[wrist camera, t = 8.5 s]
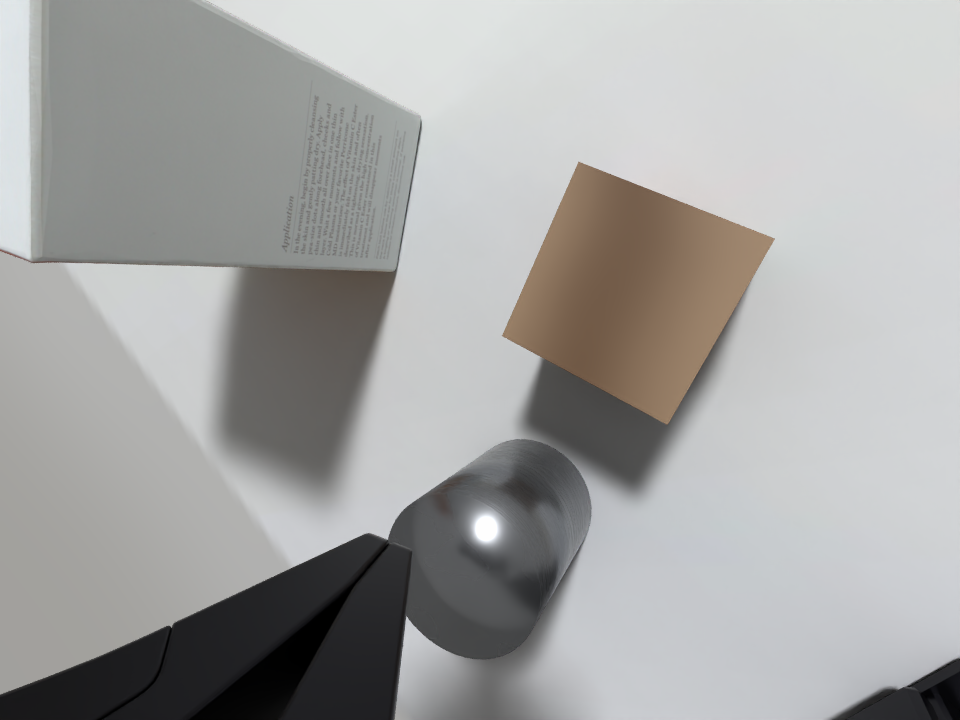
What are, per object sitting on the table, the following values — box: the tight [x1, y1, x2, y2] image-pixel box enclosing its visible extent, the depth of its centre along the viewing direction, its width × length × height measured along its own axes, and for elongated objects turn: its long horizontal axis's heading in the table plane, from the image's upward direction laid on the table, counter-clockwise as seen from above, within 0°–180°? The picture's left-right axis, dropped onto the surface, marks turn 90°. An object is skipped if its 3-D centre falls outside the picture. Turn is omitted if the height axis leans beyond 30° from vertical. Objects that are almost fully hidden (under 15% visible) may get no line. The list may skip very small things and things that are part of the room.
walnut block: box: [502, 162, 775, 425], centre depth 16 cm, size 5×5×5 cm
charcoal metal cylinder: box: [388, 439, 591, 659], centre depth 18 cm, size 5×5×6 cm
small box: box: [0, 0, 421, 272], centre depth 17 cm, size 8×6×13 cm
